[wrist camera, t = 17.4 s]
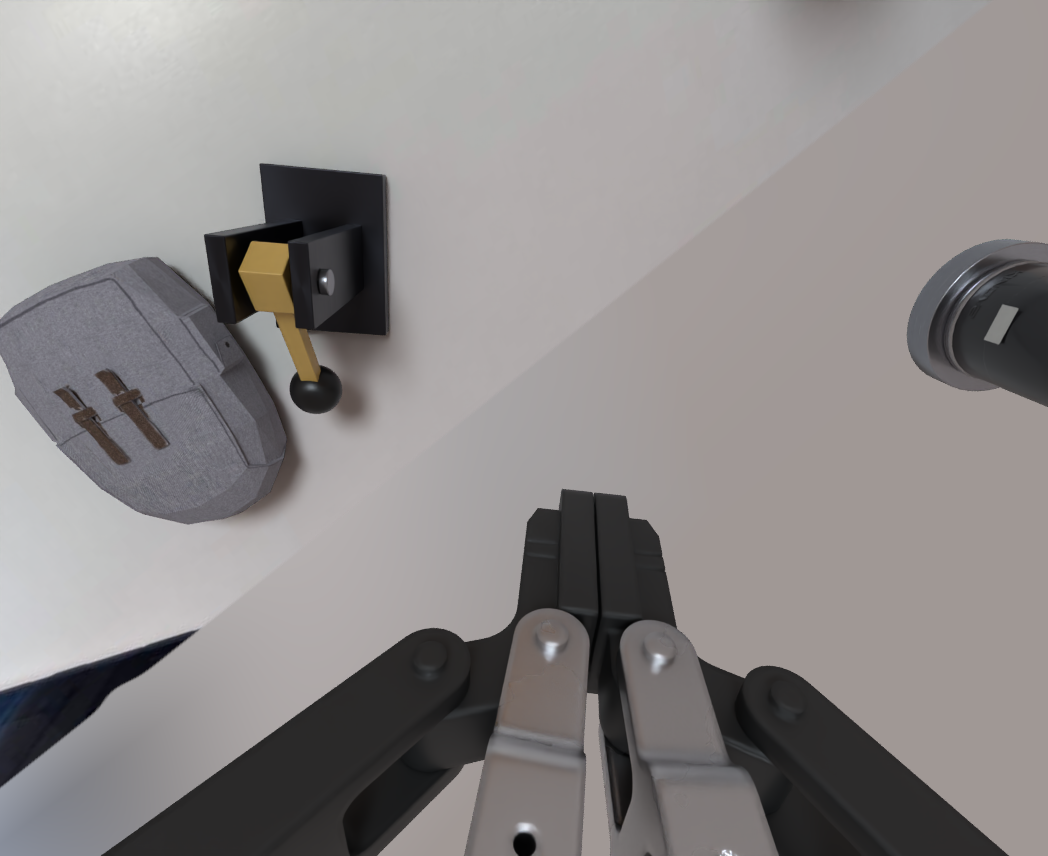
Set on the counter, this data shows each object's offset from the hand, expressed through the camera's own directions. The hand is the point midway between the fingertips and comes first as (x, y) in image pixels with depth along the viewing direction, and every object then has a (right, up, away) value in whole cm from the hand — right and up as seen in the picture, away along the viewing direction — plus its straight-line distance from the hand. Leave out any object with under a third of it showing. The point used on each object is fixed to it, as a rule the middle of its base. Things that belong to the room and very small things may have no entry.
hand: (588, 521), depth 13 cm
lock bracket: (-15, +15, +26) cm, 34 cm away
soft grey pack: (-28, +5, +30) cm, 42 cm away
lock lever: (-16, +9, +21) cm, 28 cm away
